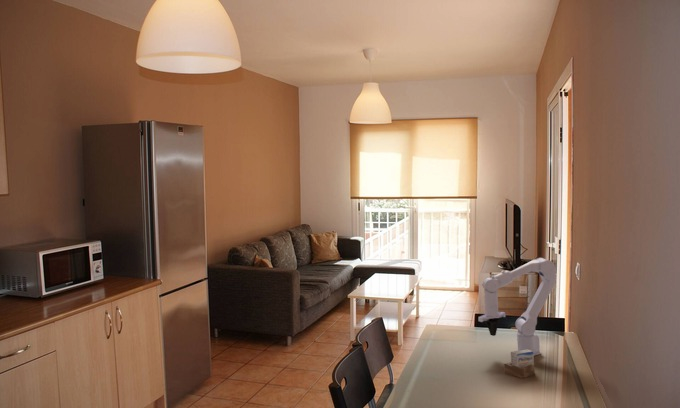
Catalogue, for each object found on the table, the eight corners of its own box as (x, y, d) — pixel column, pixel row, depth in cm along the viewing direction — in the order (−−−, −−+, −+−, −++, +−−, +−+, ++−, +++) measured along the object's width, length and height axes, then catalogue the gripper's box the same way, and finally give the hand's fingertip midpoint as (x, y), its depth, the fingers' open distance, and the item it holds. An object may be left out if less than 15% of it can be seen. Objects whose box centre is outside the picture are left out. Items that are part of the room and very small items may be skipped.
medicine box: (517, 375, 216) (516, 354, 216) (511, 372, 221) (510, 351, 220) (534, 372, 219) (533, 351, 218) (527, 369, 223) (526, 348, 223)
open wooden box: (516, 368, 224) (516, 360, 224) (534, 374, 217) (534, 365, 217) (504, 372, 221) (504, 364, 220) (522, 378, 213) (522, 369, 213)
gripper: (485, 309, 235) (487, 339, 235) (509, 304, 242) (511, 334, 242) (474, 306, 241) (476, 336, 241) (498, 301, 248) (499, 330, 248)
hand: (493, 335), depth 242 cm, fingers closed
